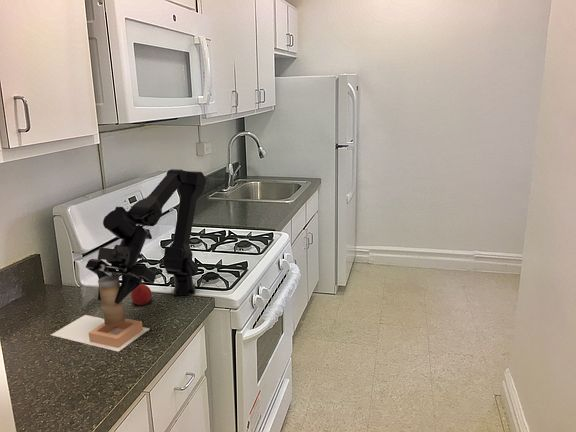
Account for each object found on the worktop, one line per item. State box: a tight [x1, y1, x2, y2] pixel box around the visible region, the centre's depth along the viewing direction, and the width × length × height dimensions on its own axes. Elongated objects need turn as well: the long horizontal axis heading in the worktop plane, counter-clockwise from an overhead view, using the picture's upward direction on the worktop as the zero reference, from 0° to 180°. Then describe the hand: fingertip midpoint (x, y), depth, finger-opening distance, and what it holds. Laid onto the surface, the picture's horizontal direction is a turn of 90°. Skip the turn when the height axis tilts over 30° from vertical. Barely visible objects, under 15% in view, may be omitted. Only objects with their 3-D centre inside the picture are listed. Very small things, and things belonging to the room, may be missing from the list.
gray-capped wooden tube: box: [97, 275, 126, 327], centre depth 126 cm, size 5×5×12 cm
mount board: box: [50, 314, 150, 353], centre depth 131 cm, size 23×12×1 cm, turn 66°
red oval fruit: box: [130, 283, 152, 306], centre depth 147 cm, size 6×6×8 cm
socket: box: [88, 317, 144, 348], centre depth 128 cm, size 9×9×2 cm
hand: (107, 301), depth 125 cm, fingers closed on gray-capped wooden tube, 5 cm apart
